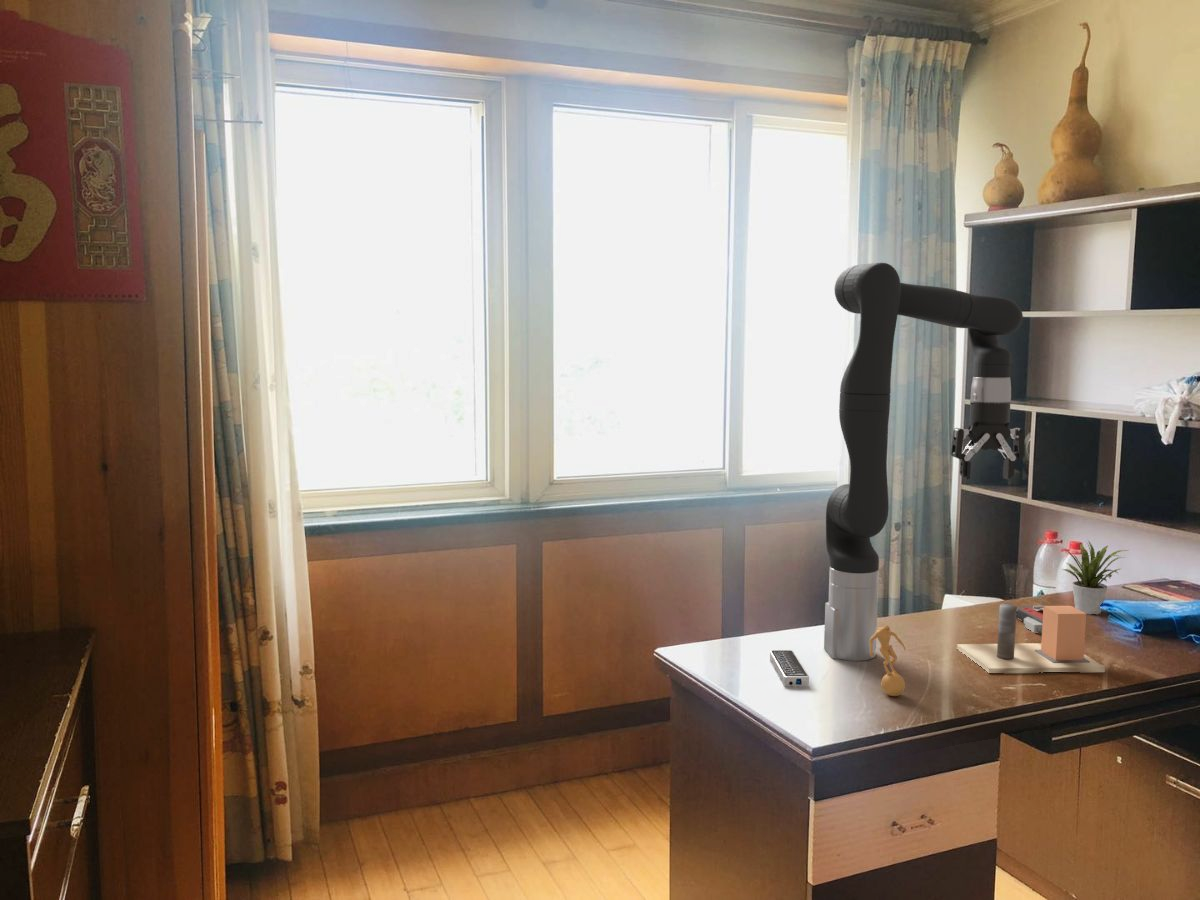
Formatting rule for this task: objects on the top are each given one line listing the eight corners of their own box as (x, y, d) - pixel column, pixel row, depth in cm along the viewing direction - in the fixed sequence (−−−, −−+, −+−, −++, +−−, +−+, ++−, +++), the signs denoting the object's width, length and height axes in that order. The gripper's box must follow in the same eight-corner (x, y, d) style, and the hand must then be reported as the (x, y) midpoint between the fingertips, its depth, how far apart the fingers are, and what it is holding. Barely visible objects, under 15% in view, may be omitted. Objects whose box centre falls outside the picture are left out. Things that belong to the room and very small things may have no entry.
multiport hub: (792, 661, 182) (792, 650, 182) (809, 689, 168) (809, 676, 167) (769, 661, 182) (769, 650, 182) (784, 689, 168) (784, 676, 167)
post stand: (988, 673, 175) (991, 615, 173) (956, 649, 188) (959, 595, 187) (1104, 672, 175) (1108, 614, 174) (1064, 647, 189) (1067, 594, 188)
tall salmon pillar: (1055, 660, 178) (1058, 613, 177) (1040, 650, 184) (1043, 605, 183) (1083, 659, 179) (1086, 613, 178) (1068, 650, 184) (1070, 605, 183)
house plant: (1144, 618, 210) (1149, 546, 208) (1097, 624, 205) (1102, 550, 203) (1091, 601, 223) (1096, 533, 221) (1046, 607, 218) (1050, 537, 216)
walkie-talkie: (1003, 618, 211) (1055, 647, 191) (1004, 599, 210) (1057, 626, 190) (1040, 617, 212) (1096, 646, 192) (1041, 598, 211) (1098, 625, 191)
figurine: (884, 703, 160) (887, 635, 159) (858, 692, 165) (860, 625, 164) (918, 694, 164) (921, 627, 163) (891, 683, 169) (894, 618, 168)
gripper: (1015, 398, 195) (1011, 476, 197) (948, 398, 194) (944, 476, 196) (1034, 400, 188) (1029, 481, 189) (963, 400, 187) (959, 481, 189)
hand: (986, 478), depth 193 cm, fingers open, 8 cm apart
